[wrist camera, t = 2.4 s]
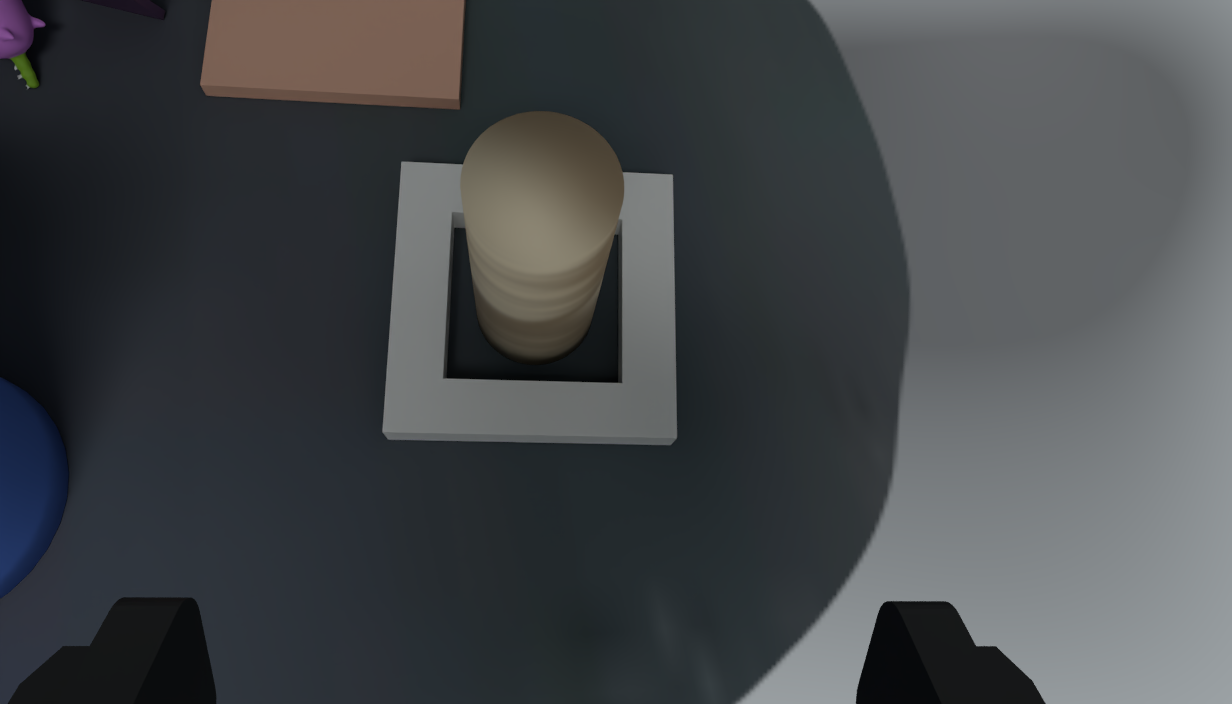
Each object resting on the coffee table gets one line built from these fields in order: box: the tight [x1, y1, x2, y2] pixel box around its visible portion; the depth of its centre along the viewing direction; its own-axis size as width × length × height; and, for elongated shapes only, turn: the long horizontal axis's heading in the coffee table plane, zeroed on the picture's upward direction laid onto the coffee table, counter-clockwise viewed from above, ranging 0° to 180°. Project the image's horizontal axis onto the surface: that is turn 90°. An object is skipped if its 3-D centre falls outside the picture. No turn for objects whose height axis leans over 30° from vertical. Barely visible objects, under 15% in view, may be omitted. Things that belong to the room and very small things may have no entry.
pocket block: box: [382, 162, 677, 445], centre depth 35 cm, size 10×10×2 cm
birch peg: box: [460, 111, 624, 365], centre depth 31 cm, size 4×4×11 cm
